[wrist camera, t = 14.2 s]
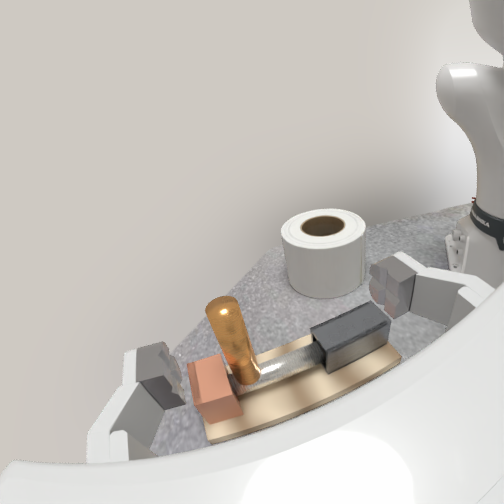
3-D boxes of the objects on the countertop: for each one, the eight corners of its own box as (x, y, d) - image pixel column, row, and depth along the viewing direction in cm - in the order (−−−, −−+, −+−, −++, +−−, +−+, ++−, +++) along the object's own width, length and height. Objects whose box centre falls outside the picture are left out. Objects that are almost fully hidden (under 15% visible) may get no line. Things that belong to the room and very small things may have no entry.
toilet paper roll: (381, 273, 50) (382, 223, 45) (320, 311, 45) (315, 258, 40) (331, 245, 63) (327, 201, 57) (274, 273, 58) (265, 226, 53)
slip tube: (321, 347, 36) (314, 263, 29) (331, 363, 33) (329, 278, 26) (213, 388, 33) (171, 312, 27) (218, 407, 31) (173, 334, 24)
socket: (231, 376, 36) (220, 353, 33) (243, 414, 30) (232, 394, 28) (200, 386, 35) (186, 363, 33) (209, 424, 29) (194, 405, 27)
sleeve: (368, 324, 38) (370, 300, 36) (387, 344, 34) (391, 320, 32) (312, 350, 37) (310, 328, 34) (328, 374, 33) (327, 352, 30)
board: (359, 318, 42) (360, 311, 41) (399, 362, 32) (401, 356, 31) (197, 381, 38) (193, 375, 37) (211, 444, 28) (207, 440, 27)
